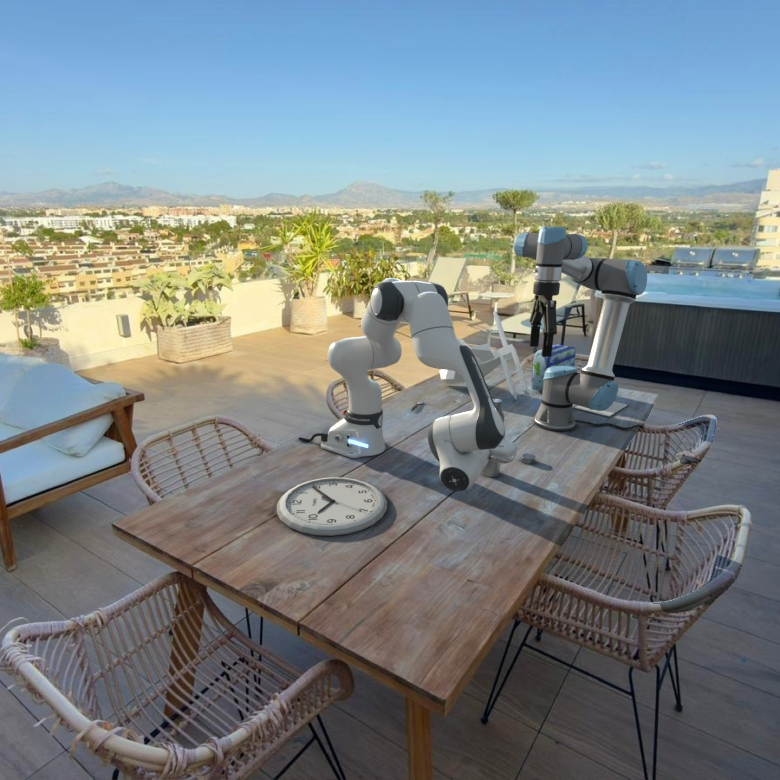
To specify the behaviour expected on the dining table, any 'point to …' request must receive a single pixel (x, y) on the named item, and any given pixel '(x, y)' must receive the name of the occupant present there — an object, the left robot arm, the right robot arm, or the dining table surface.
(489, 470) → the bottle
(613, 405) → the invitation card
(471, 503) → the dining table surface
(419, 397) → the fork
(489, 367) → the white plastic object
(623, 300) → the right robot arm
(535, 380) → the lunch box
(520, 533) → the dining table surface
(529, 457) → the cap
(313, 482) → the wall clock
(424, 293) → the left robot arm
